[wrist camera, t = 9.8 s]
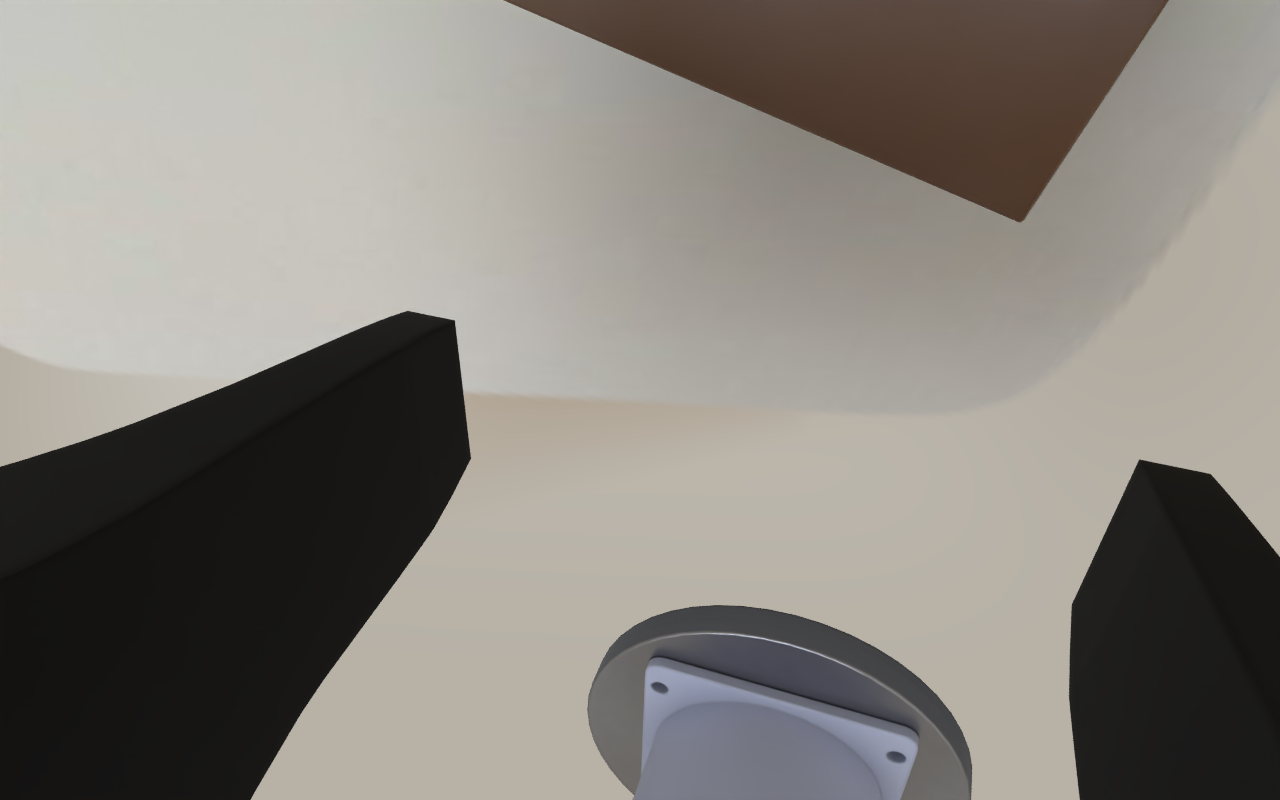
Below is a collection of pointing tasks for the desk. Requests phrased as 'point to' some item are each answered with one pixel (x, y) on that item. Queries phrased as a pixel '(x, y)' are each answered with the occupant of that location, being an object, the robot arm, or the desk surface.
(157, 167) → the desk surface
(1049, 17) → the shelf
